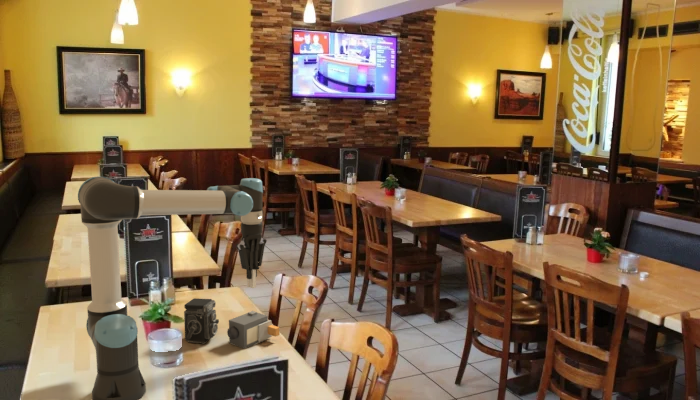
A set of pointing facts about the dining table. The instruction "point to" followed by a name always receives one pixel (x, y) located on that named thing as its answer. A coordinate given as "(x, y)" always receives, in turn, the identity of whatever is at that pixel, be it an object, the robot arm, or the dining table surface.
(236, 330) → the housing
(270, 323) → the side door
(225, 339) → the dining table surface
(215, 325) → the camera
